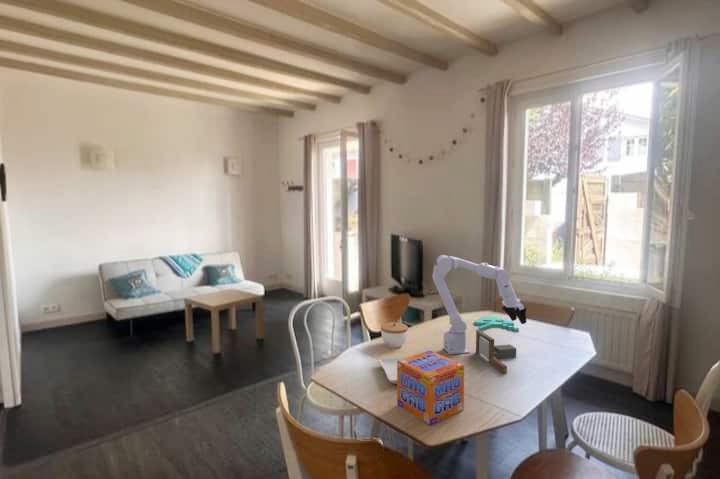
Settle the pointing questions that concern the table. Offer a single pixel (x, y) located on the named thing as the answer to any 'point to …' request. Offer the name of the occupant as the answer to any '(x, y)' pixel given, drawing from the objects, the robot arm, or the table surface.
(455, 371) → the game box
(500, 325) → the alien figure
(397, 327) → the lidded bowl
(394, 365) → the salad plate
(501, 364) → the doorway frame
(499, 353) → the tall grey block
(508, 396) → the table surface
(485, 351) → the flap
